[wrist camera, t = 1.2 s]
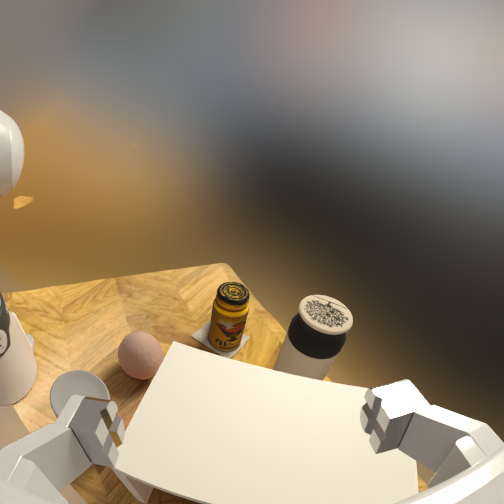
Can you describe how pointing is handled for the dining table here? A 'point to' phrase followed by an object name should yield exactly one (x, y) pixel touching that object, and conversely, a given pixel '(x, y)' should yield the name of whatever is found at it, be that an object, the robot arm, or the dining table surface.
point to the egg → (140, 355)
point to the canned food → (76, 388)
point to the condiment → (226, 320)
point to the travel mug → (314, 337)
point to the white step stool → (255, 438)
